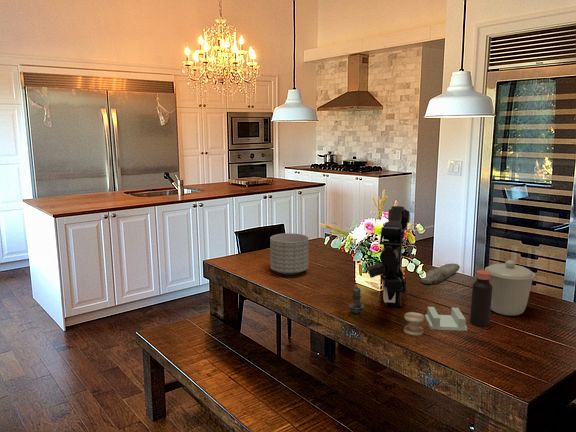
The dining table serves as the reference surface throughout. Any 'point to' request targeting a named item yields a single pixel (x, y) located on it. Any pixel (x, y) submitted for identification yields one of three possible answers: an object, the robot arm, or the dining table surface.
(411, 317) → the bobbin
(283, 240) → the planter
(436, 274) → the long grey stone
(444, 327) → the notch board
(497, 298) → the canister
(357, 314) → the flange bolt
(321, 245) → the dining table surface
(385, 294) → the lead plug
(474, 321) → the bottle
